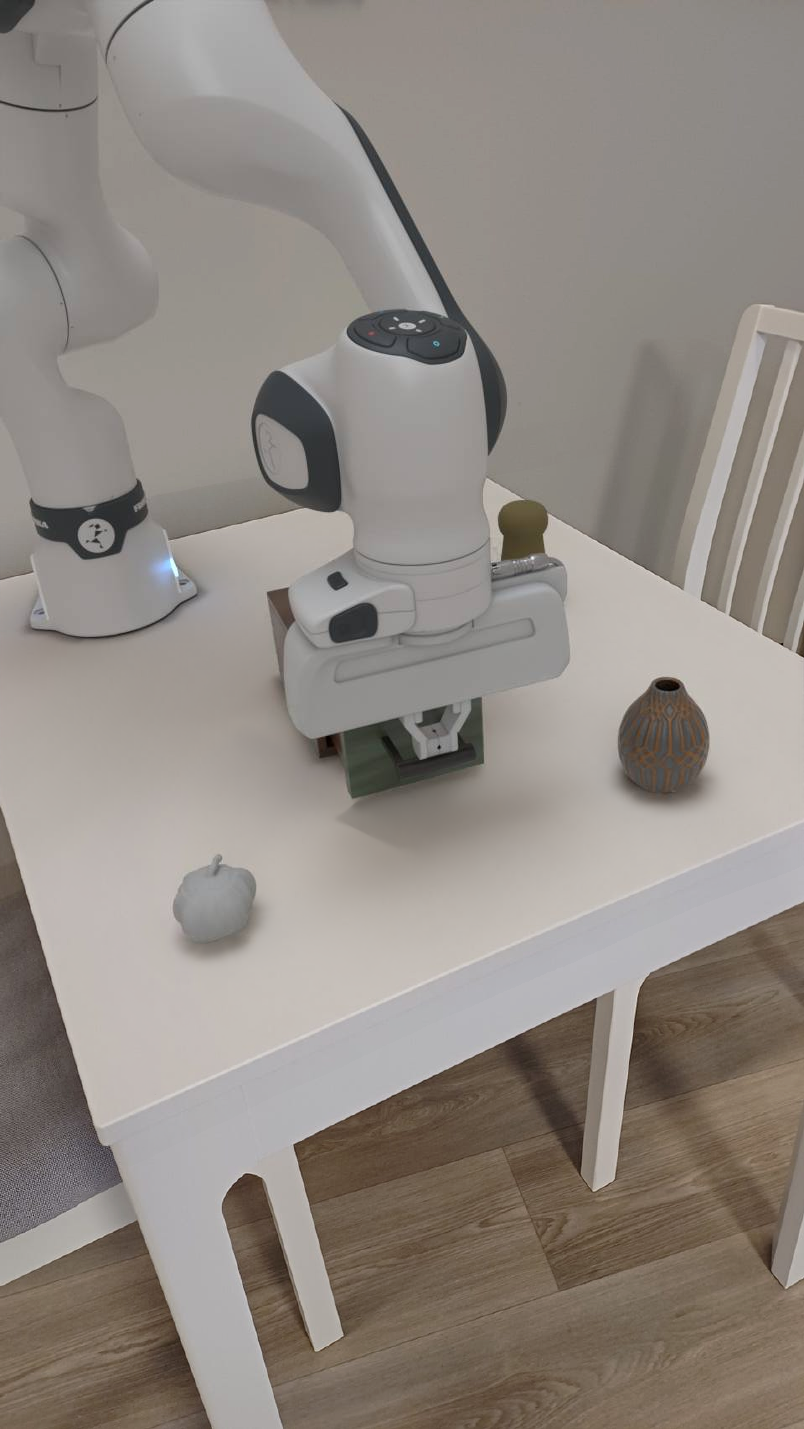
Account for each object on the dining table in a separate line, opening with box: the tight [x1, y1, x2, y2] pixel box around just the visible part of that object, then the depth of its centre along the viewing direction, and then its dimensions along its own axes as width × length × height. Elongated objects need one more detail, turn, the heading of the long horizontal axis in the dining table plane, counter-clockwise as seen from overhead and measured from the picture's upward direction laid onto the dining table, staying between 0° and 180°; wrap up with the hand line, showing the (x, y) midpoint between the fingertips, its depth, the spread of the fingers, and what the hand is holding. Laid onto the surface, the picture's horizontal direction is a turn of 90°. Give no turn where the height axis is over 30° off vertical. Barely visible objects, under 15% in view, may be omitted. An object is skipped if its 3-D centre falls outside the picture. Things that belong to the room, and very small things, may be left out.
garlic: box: [172, 853, 257, 944], centre depth 68 cm, size 6×5×5 cm
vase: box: [617, 676, 711, 794], centre depth 77 cm, size 7×7×9 cm
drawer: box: [329, 696, 485, 800], centre depth 81 cm, size 19×11×8 cm, turn 19°
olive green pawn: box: [497, 499, 549, 561], centre depth 105 cm, size 6×6×11 cm
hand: (435, 751), depth 73 cm, fingers closed
